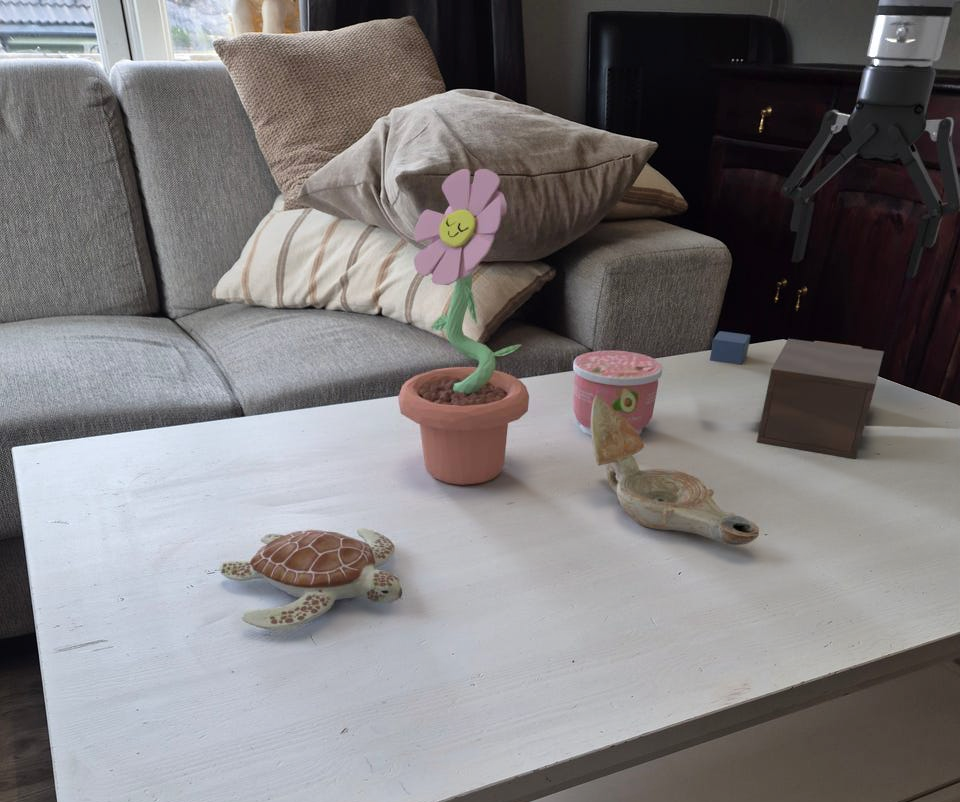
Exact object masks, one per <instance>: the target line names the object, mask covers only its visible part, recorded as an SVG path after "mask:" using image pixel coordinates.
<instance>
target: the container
mask: <svg viewBox="0 0 960 802" xmlns="http://www.w3.org/2000/svg"><path fill="white" fill-rule="evenodd" d="M572 369H573V372H574V373H575V374H574V377H573V378H574V379H573V404H572V405H573V406H572V408H573V412H574V415H575V418H576V421H577V422H578V423H579V424H580V425H579V427H580V429H581V431H582V432H583V433H584V434H586V435H588V436H591V412H592V404H593V400H594V398H595V396H597V395H598V396H600V397H601V399H602V400H603V401H604V402H605V403H606V404H607V405H609V406H610V407H611V408H613V409H614V410H615V411H616V412H618V413H619V414H620V415H621V416H622V417H623V418H624V419H625V420H626V421H627V422H628V423H629V424H630V425H631V426H632V427H633V428H634V429H635V431H636V432H637V433H638V435H639V436H640V435H641V434H642V433H643V429H644V428H645V427H647V426H648V424H649V423H650V421H651V419H652V417H653V415H654V409H655V404H656V399H657V393H658V387H659V379H660V378H661V377H662V374H663V365H662V363H661V362H660V361H658V360H657V359H655V358H653V357H651V356H649V355H646V354H642V353H637V352H633V351H625V350H597V351H596V350H595V351H590V352H585V353H582V354H580V355H577V357H576V358H574V360H573V365H572Z"/></svg>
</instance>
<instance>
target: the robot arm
mask: <svg viewBox="0 0 960 802" xmlns="http://www.w3.org/2000/svg"><path fill="white" fill-rule="evenodd" d="M955 4H960V0H878V5H877V9H876V13H875V16H874V20H873V25H872V30H871V34H870V38H869V44H868V47H867V52H866V57H867V59H869V60H870V63H869V64H867V65H865V67H864V68H863V71H862V73H861V74H862V75H861V78H860V85H859V89H858V94H857V98H856V102H855V106H854V109H853V111H852V112H851V114H848V113H844V112H840V111H839V110H838V109H831V110H828V111H826V112H825V114H824V115H823V117H822V121H821V124H820V128H819V132H818V133H817V135H816V136H815V138H814V139H813V141H812V142H811V143H810V145H809V146H808V148H807V150H806V151H805V153H804V154H803V155H802V157H801V159H800V160H799V162H798V163H797V164H796V166H795V167H794V169H793V171H791V173H790V175H789V177H788V178H787V179H786V181H785V183H784V184H783V185H782V187H781V189H780V193H781V195H782V196H783V197H787V198H789V199H790V200H792V202H793V209H792V215H791V219H790V225H789V228H790V232H795V233H796V237H795V242H794V245H793V251H792V257H791V261H790V262H791V263H799V262H800V261H802V260H804V258H805V257H804V256H805V253H806V252H805V251H806V247H807V243H808V239H809V238H808V237H809V233H810V228H811V222H812V219H813V213H814V209H815V204H816V203H815V202H814V201H813V202H812V201H809V200H810V198H811V197H813V196H814V195H815V194H816V193H817V192H818V191H819V190H820V189H821V188H822V187H823V186H824V185H825V184H826V183H827V182H828V181H830V180H831V179H832V178H833V176H835V175H836V174H837V173H838V172H840V170H841V169H843V167H844V166H845V165H847V164H848V163H849V162H850V161H851V160H852V159H853V158H855V157H856V156H857V155H859V156H860V157H862V159H867V160H868V159H869V160H872V159H876V158H877V159H879V160H880V159H881V160H883V161H891V162H892V161H893V160H896V159H900V161H901V163H902V164H903V166H904V167H905V169H906V171H907V173H908V174H909V177H910V178H911V180H912V182H913V185H914V187H915V188H916V190H917V192H918V194H919V196H920V198H921V201H922V203H923V204H924V206H925V209H926V210H927V212H928V214H924V215H923V216H922V217H921V219H920V222H919V226H918V230H917V232H916V237H915V241H914V244H913V247H912V251H911V255H910V259H909V263H908V267H907V269H906V270H907V271H906V274H905V278H907V279H913V278H914V277H915V276H916V275H917V273H918V270H919V266H920V262H921V259H922V254H923V252H924V248H926V249H927V248H928V249H931V248H932V247H933V246H934V245H935V243H936V241H937V237H938V234H939V230H940V226H941V223H942V220H943V218H944V217H945V216H949V215H955V214H957V213H959V212H960V179H959V173H958V168H957V163H956V157H955V152H954V146H953V141H952V138H953V133H954V126H955V119H954V118H953V117H951V116H948V117H945V118H942V119H928V117H927V109H928V105H929V102H930V97H931V94H932V90H933V86H934V82H935V79H936V75H937V71H936V68H935V67H934V66H933V63H934V62H937V61H939V59H940V58H941V55H942V51H943V48H944V44H945V40H946V35H947V32H948V28H949V24H950V20H951V16H952V13H953V7H954V5H955ZM844 126H846V127H847V131H848V132H849V133H848V134H849V135H850V137H851V139H852V140H851V141H850V142H849V143H848V144H847V145H846V146H844V148H843V149H842V150H841V151H840V152H839V153H838V154H837V155H836V156H835V157H834V158H833V159H832V160H831V161H830V162H829V163H827V164H826V166H824V167H823V169H821V170H820V171H819V172H818V173H817V174H816V175H814V177H813V178H812V179H811V180H809V182H807V184H806V185H804V186H803V187H800V185H801V184H802V182H803V181H804V179H805V178H806V177H807V175H808V173H809V172H810V171H811V169H812V167H813V166H814V165H815V163H816V162H817V160H818V159H819V157H820V156H821V155H822V153H823V152H824V150H825V148H826V147H827V146H828V144H829V143H830V141H831V139H832V138H833V136H834V134H838V133H839V132H841V131H842V129H843V127H844ZM925 132H928V133H929V136H930V140H931V141H933V142H936V143H935V147H936V154H937V159H938V165H939V169H940V174H941V180H942V184H943V189H944V195H945V200H946V202H943V201H942V198H941V197H940V195H939V193H938V191H937V189H936V187H935V184H934V183H933V181H932V179H931V177H930V175H929V173H928V171H927V169H926V166H925V165H924V163H923V161H922V159H921V155H920V153H919V152H918V149H917V147H916V145H915V143H916V142H917V140H919V138H921V137H922V135H923V134H924V133H925Z"/></svg>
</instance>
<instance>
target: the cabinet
mask: <svg viewBox="0 0 960 802" xmlns="http://www.w3.org/2000/svg"><path fill="white" fill-rule="evenodd" d="M884 354H885V351H883V350H875V349H869V348H863V347H862V348H855V347H847V346H840V345H832V344H825V343H817V342H815V341H809V340H801V339H793V338H787V340H786V342H785V343H784V346H783V347H782V349H781V351H780V353H779V355H778V356H777V358H776V360H775V361H774V363H773V365H772V367H771V369H770V372H769V373H770V374H769V377H768V383H767V388H766V392H765V397H764V402H763V408H762V414H761V418H760V423H759V428H758V434H757V438H756V443H761V444H767V445H773V446H777V447H785V448H789V449H795V450H801V451H807V452H814V453H818V454H819V453H820V454H823V455H824V454H825V455H830V456H837V457H843V458H848V459H853V460H855V459H857V456H858V452H859V448H860V445H861V440H862V437H863V433H864V429H865V426H866V422H867V418H868V416H869V415H868V414H869V412H870V409H871V408H870V407H871V403H872V400H873V396H874V392H875V388H876V385H877V381H878V376H879V373H880V369H881V365H882V361H883V357H884Z"/></svg>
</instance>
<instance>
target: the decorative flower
mask: <svg viewBox="0 0 960 802" xmlns="http://www.w3.org/2000/svg"><path fill="white" fill-rule="evenodd" d="M500 184H501V178H500V177H499V174H497V173H496V172H494V171H492V170H490V169H488V168H478V169H477V170H476V171H474V175H473V181H472V183H471V170H470V169H468V168H462V169H459V170H457V171H455V172H453V173H451V174H450V175H449V176H447V177H446V178H445V179H444V181H443V183H442V184H441V190H442V192H443V194H444V196H445V198H446V200H447V203H448V204H449V206H448V207H447V208H446V210H445V212H444V213H441V212H438V211H434V210H431V209H425V210H423V211H422V213H421V214H420V215H419V217H418V220H417V222H416V225H415V227H414V234H413V237H414V240H415V242H416V243H421V242H425V241H427V240H430V239H431V240H430V242H429V244H428V246H426V247H425V248H423V249H421V250H420V251H419V252H417V254H416V255H415V256H414V257H413V265H414V269H415V270H416V272H417V273H418V274H419V275H420V276H423V277H428V276H430V275H432V276H431V279H430V280H431V282H432V283H433V284H435V285H439V286H450V285H451V284H454V283H455V284H454V288H453V293H452V296H451V300H450V303H449V308H448V312H447V313H446V314H443V315H441V316H439V317H438V318H436V320H435V321H434V322H433V323H432V325H431V329H432V330H434V331H436V332H438V331H440V332H442V331H445V335H446V338H447V339H448V341H449V344H450V346H451V347H453V348H454V349H456V350H457V351H458V352H460V353H461V354H462V355H463V356H465V357H468V358H470V359H473V360H476V361H478V365H477V367H475V366H458V367H457V366H455V367H454V366H453V367H451V366H450V367H444V368H443V367H442V368H436V369H432V370H429V371H426V372H422V373H420V374H416V375H415V376H412V377H411V378H410V379H408V380H406V381H405V382H404V384H402V386H401V389H400V391H399V393H398V397H397V400H398V406H399V412H400V414H401V415H403V417H406V418H407V419H409V420H410V421H412V422H414V423H415V424H418V425H419V429H420V437H421V438H420V439H421V446H422V455H423V462H424V463H423V464H424V466H425V468H426V471H427V473H428V474H429V475H431V477H432V478H434V479H436V480H438V481H441V482H443V483H445V484H452V485H458V486H466V485H475V484H482V483H485V482H489V481H491V480H493V479H495V478H496V477H498V475H499V474H500V473H501V472H502V471H503V468H504V464H505V460H506V449H507V438H508V430H509V423H512V422H515V421H518V420H520V418H522V417H523V416H524V415H525V414H526V413H528V411H529V403H530V394H529V392H528V389H527V386H526V385H525V384H524V383H523V382H522V380H520V379H518V377H515V376H514V375H512V374H508V373H506V372H504V371H503V372H502V371H499V370H496V368H497V367H496V357H503V356H504V357H505V356H506V355H509V354H511V353H513V352H515V351H517V349H519V348H520V347H522V344H514V345H513V344H512V345H509V346H507V347H504V348H501V349H499V350H497V351H495V352H494V351H492V349H490V348H489V347H488V346H487V345H486V344H484V343H481V342H478V341H476V340H474V339H473V338H471V337H469V336H467V335H466V334H465V333H464V330H463V323H464V321H465V320H464V319H465V315H466V312H467V309H468V312H469V315H470V317H471V319H472V321H473V322H474V323H475V325H476V324H478V320H477V319H478V318H477V310H476V303H475V296H474V294H473V292H472V287H473V275H474V272H475V270H477V268H478V267H479V264H480V263H481V262H482V261H483V259H485V258H486V257H487V255H488V254H489V252H490V250H491V248H492V246H493V243H494V241H495V237H496V235H495V234H496V233H497V231H498V230H499V228H500V225H501V221H502V217H503V216H504V215H505V214H507V210H508V208H507V207H508V204H507V201H506V198H505V195H504V193H502V191H499V190H498V188H499V186H500ZM497 190H498V191H497Z"/></svg>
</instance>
